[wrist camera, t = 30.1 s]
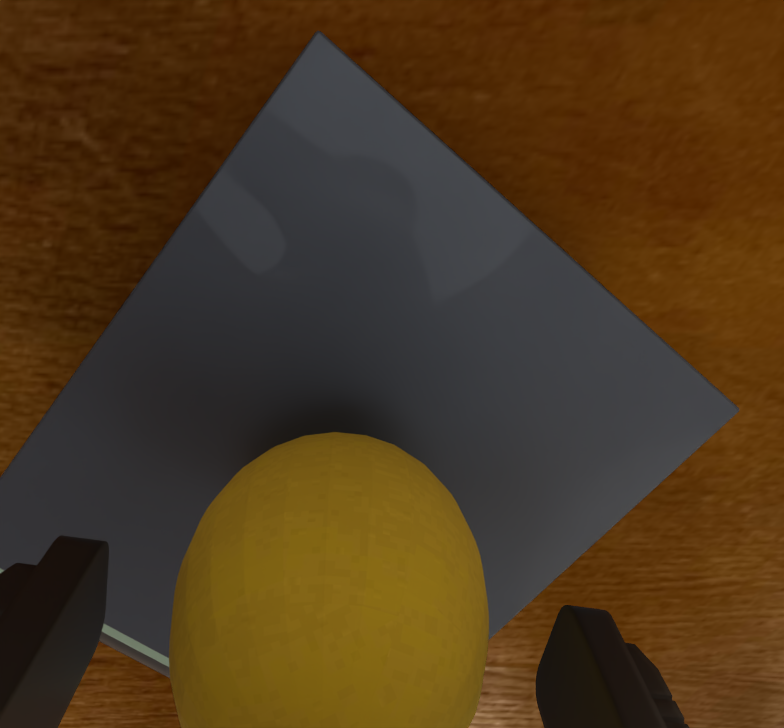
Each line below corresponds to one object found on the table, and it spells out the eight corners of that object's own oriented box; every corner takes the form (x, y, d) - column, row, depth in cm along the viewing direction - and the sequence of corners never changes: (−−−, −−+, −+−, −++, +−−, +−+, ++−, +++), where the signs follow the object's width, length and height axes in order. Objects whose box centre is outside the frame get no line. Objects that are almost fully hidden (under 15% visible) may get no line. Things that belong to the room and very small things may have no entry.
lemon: (274, 597, 17) (205, 988, 9) (185, 414, 15) (7, 726, 7) (479, 538, 16) (579, 897, 9) (418, 342, 14) (481, 594, 7)
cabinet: (358, 553, 28) (358, 760, 19) (100, 387, 25) (-48, 544, 16) (601, 300, 24) (741, 410, 15) (336, 64, 21) (317, 28, 12)
